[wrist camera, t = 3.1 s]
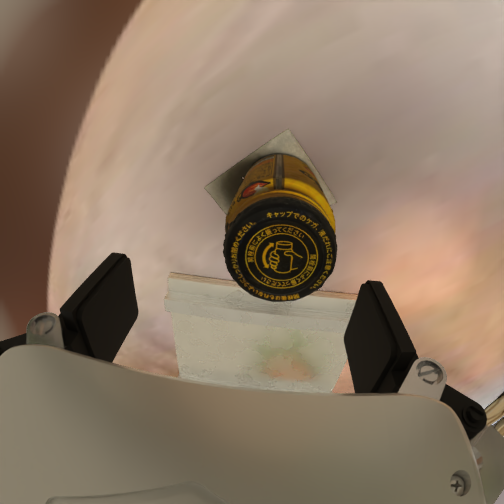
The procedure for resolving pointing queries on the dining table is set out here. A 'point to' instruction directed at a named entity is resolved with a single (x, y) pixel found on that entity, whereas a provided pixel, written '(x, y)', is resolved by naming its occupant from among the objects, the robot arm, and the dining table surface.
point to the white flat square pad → (257, 336)
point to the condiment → (277, 222)
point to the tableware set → (496, 414)
